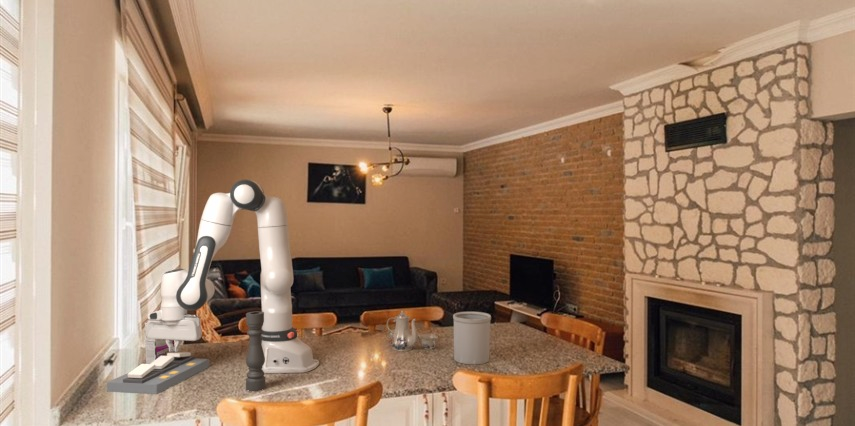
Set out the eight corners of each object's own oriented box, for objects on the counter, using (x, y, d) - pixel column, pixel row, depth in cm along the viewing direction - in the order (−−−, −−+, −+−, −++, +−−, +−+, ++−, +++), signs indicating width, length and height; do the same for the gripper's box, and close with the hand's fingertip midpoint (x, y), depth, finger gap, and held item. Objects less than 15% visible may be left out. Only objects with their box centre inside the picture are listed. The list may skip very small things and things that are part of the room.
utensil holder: (496, 357, 215) (495, 313, 215) (483, 367, 201) (483, 320, 201) (461, 353, 221) (461, 310, 221) (447, 362, 208) (447, 317, 207)
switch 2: (174, 359, 193) (173, 356, 193) (161, 369, 186) (161, 365, 186) (161, 358, 194) (160, 355, 194) (148, 368, 187) (148, 365, 187)
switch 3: (190, 355, 203) (191, 352, 203) (179, 356, 196) (179, 353, 196) (178, 355, 204) (178, 352, 204) (166, 356, 197) (167, 353, 197)
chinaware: (444, 351, 230) (446, 312, 231) (423, 356, 216) (425, 314, 217) (391, 342, 245) (393, 305, 246) (368, 347, 231) (370, 307, 232)
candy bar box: (164, 356, 218) (163, 315, 218) (175, 357, 217) (174, 316, 217) (144, 364, 207) (143, 321, 207) (155, 365, 206) (155, 322, 206)
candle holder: (248, 385, 182) (247, 311, 182) (267, 385, 182) (266, 311, 182) (243, 391, 176) (243, 315, 175) (263, 391, 176) (262, 314, 176)
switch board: (209, 366, 203) (209, 356, 203) (156, 394, 174) (156, 381, 174) (165, 364, 206) (165, 354, 206) (106, 391, 177) (106, 379, 177)
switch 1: (155, 367, 183) (155, 364, 183) (141, 378, 176) (141, 374, 176) (142, 366, 184) (141, 363, 184) (128, 377, 177) (127, 374, 177)
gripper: (205, 313, 199) (205, 350, 199) (154, 311, 202) (154, 348, 202) (195, 316, 192) (194, 355, 193) (143, 314, 196) (143, 352, 196)
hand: (173, 351), depth 197 cm, fingers closed
